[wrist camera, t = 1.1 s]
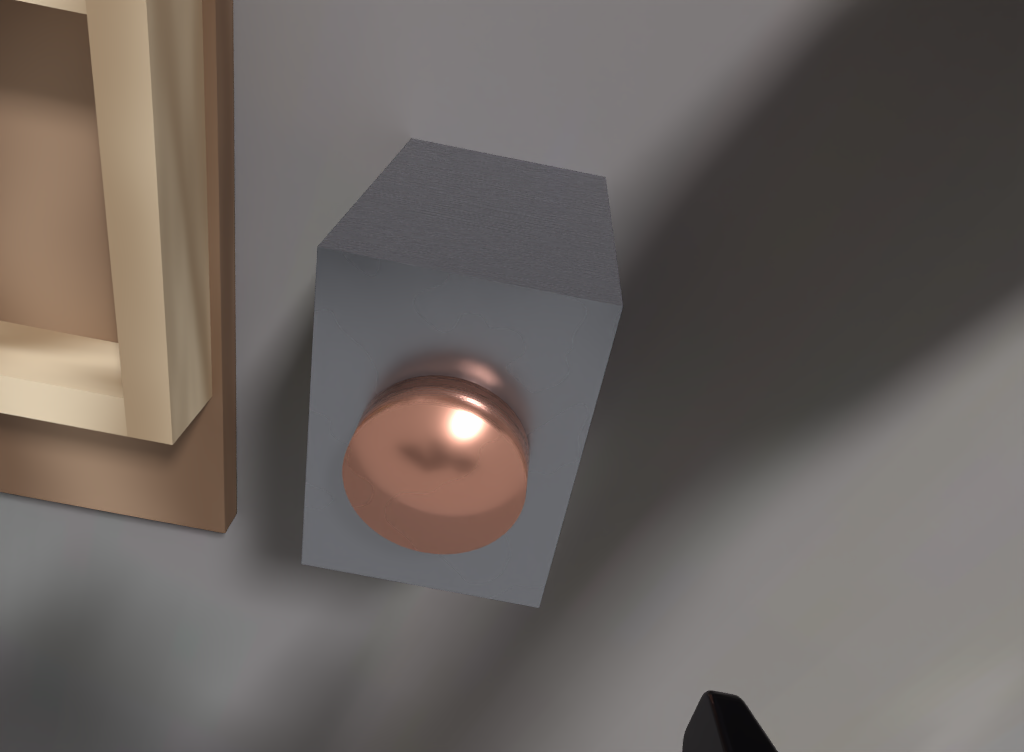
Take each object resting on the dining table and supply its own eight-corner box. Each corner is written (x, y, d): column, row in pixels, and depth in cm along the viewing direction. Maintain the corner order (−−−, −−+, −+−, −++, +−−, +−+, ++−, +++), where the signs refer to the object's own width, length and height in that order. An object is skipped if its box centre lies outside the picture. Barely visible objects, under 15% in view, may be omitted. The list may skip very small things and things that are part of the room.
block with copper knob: (605, 176, 19) (626, 334, 11) (549, 405, 23) (536, 646, 15) (411, 137, 19) (297, 269, 11) (385, 373, 22) (285, 600, 15)
